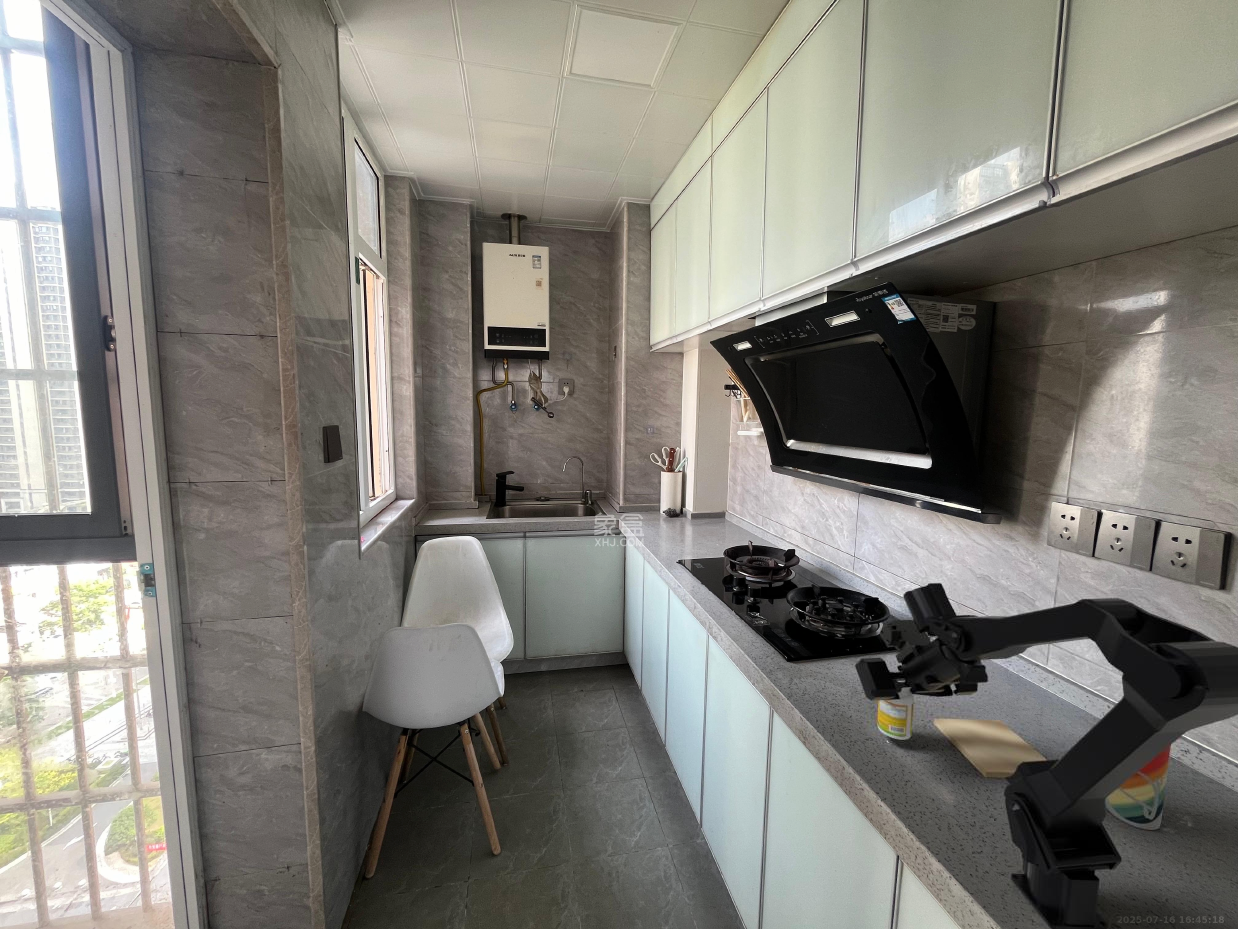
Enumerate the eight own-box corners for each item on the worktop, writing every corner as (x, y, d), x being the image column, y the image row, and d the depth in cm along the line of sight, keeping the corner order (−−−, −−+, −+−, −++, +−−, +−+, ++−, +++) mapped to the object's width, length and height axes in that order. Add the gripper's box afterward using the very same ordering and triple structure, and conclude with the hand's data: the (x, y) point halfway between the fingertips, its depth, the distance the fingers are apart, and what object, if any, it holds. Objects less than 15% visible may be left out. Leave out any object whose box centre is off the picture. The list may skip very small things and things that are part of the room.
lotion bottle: (1130, 830, 70) (1146, 694, 68) (1093, 799, 76) (1107, 673, 74) (1172, 832, 70) (1190, 696, 68) (1133, 801, 76) (1148, 674, 74)
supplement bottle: (892, 719, 93) (895, 668, 92) (919, 736, 88) (922, 683, 87) (870, 725, 91) (873, 674, 90) (896, 743, 86) (899, 689, 85)
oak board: (1062, 779, 80) (1063, 773, 80) (985, 777, 80) (986, 771, 80) (999, 725, 94) (999, 720, 94) (933, 723, 94) (934, 718, 94)
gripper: (969, 609, 84) (919, 644, 96) (864, 614, 82) (826, 648, 94) (1006, 678, 77) (947, 706, 89) (893, 685, 75) (848, 713, 87)
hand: (891, 691), depth 90 cm, fingers closed on supplement bottle, 5 cm apart
